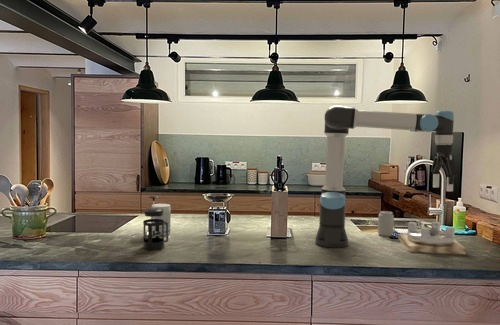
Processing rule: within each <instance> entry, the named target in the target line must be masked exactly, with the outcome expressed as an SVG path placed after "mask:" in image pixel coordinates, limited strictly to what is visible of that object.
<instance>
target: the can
mask: <svg viewBox="0 0 500 325" xmlns="http://www.w3.org/2000/svg"><path fill="white" fill-rule="evenodd" d="M377 216H378V219H377V220H378V222H377V234H379V236H381V237H392V236H393V235H394V226H395V225H394V220H395V215H394V214H393V212H392V211H389V210H380V211H379V213H378V215H377ZM392 234H393V235H392ZM391 235H392V236H391Z"/></svg>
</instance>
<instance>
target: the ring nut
mask: <svg viewBox="0 0 500 325" xmlns="http://www.w3.org/2000/svg"><path fill="white" fill-rule="evenodd" d="M407 226H408V227H407V231H406V232H407V233H406V234H407V239H408V240H410V241H412V242H415V243H418V244H423V245H430V246H449V245H453V244H454V240H455V233H456V232H455V231H456V230H455V229H456V228H455V227H451V226H447V227H445V230H444V231H443V230H441V221H440V222H439V221H431V228H430V227H424V226H423V227H421V228H417V227H418V223H417V222H414V221H409V222H408V223H407Z"/></svg>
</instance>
